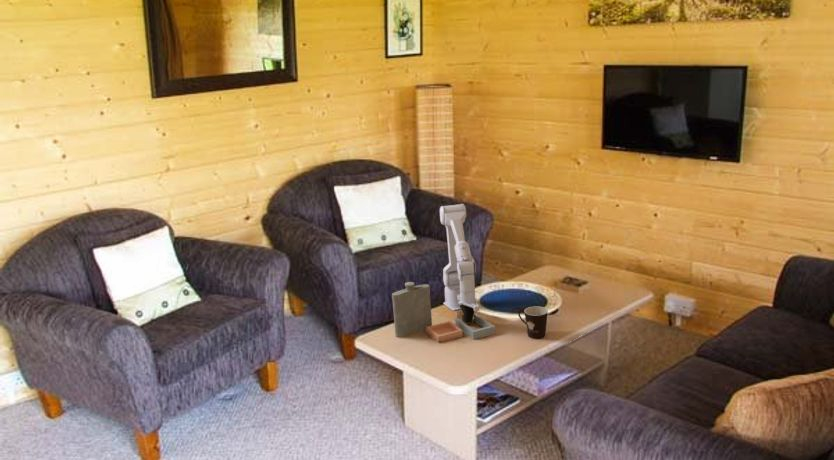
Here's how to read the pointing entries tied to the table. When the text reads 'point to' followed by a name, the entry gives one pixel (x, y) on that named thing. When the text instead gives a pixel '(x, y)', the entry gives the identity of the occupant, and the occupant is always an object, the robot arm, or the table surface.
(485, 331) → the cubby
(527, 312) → the coffee mug
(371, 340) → the table surface
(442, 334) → the tray
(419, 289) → the hip flask
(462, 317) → the walnut cube
